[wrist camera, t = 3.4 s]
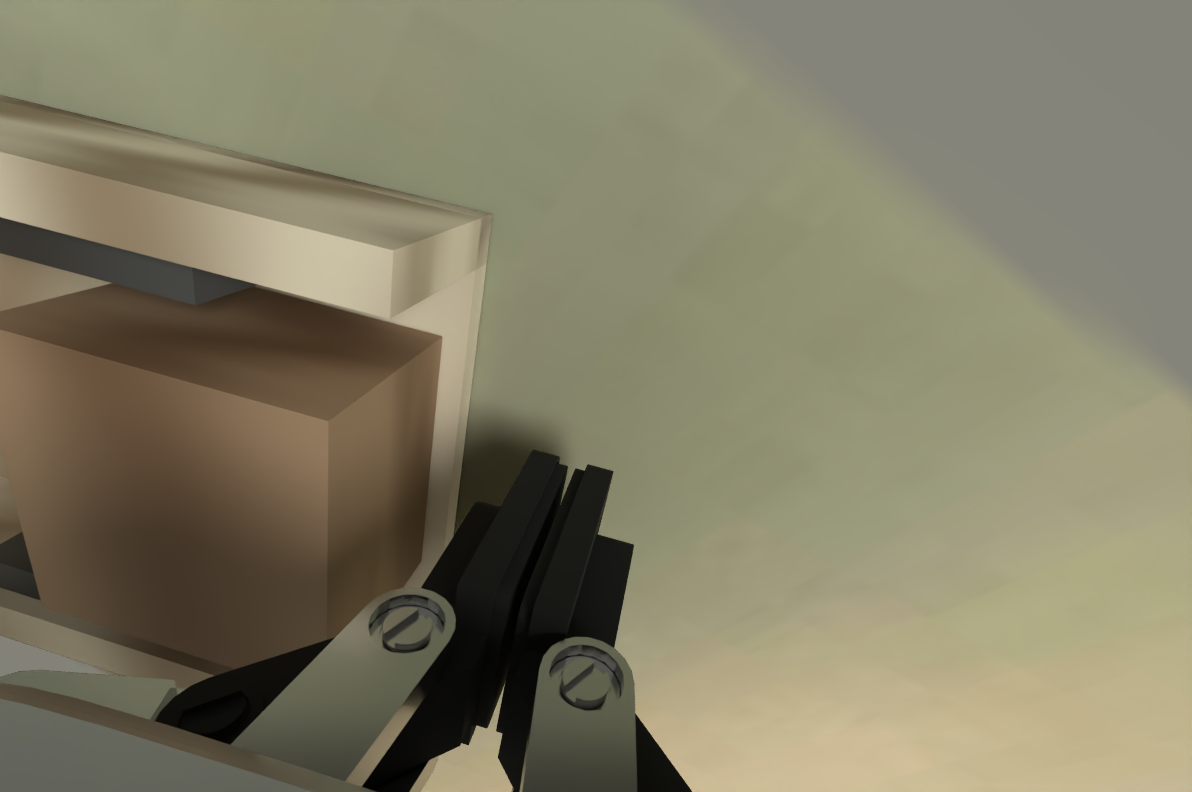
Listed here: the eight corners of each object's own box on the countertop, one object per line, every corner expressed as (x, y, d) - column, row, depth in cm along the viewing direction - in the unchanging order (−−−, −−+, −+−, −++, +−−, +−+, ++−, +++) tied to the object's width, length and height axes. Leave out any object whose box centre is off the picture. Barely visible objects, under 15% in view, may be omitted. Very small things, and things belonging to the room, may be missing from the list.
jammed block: (442, 336, 12) (328, 420, 9) (421, 561, 15) (326, 698, 11) (177, 266, 13) (-35, 320, 9) (200, 495, 15) (42, 607, 12)
